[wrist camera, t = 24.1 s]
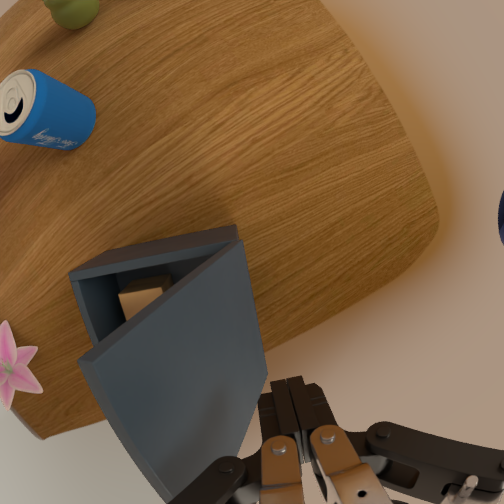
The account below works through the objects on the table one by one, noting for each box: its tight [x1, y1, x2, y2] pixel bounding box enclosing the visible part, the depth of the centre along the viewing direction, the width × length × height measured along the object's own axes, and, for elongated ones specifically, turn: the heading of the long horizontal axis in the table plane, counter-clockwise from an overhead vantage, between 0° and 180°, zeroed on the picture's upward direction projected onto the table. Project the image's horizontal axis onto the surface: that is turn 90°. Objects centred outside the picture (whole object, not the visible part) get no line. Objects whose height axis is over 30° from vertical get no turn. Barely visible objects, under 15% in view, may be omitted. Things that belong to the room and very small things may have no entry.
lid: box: [77, 240, 268, 504], centre depth 16 cm, size 15×12×1 cm
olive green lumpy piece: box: [43, 0, 99, 29], centre depth 19 cm, size 6×5×10 cm
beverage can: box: [0, 69, 96, 150], centre depth 21 cm, size 6×6×12 cm
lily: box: [0, 320, 43, 411], centre depth 29 cm, size 12×12×10 cm
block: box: [118, 273, 174, 320], centre depth 29 cm, size 4×4×4 cm
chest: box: [68, 224, 239, 346], centre depth 27 cm, size 15×12×9 cm
